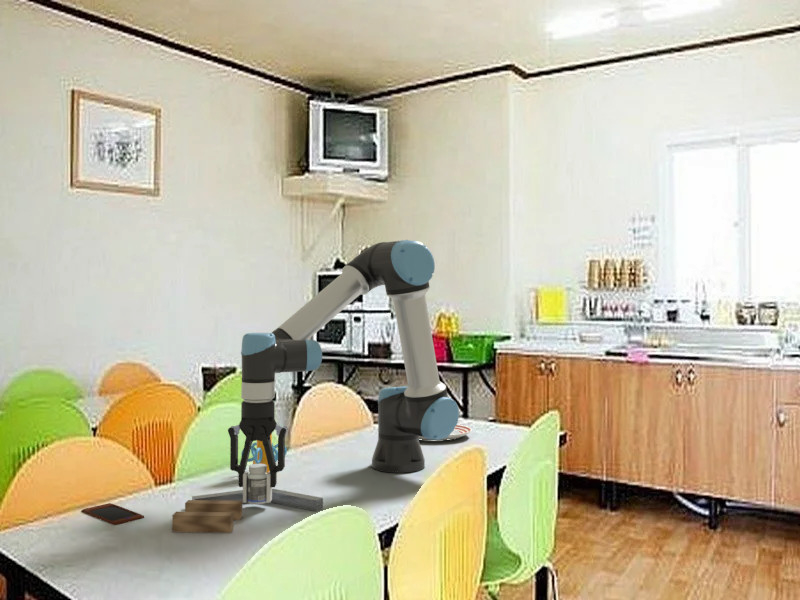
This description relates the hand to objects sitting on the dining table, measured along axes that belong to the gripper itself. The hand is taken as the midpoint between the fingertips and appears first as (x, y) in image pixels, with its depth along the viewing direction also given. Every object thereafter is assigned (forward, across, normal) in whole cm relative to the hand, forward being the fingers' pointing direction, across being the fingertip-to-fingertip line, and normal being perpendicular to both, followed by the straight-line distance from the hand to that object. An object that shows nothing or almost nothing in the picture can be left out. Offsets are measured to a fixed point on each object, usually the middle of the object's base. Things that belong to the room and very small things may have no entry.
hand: (257, 500), depth 170 cm
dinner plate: (+2, -44, -88) cm, 98 cm away
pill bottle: (+1, 0, 0) cm, 1 cm away
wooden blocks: (+2, +8, +12) cm, 15 cm away
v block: (+2, 0, -3) cm, 4 cm away
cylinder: (+2, +4, -29) cm, 29 cm away
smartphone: (+2, +31, +6) cm, 32 cm away
